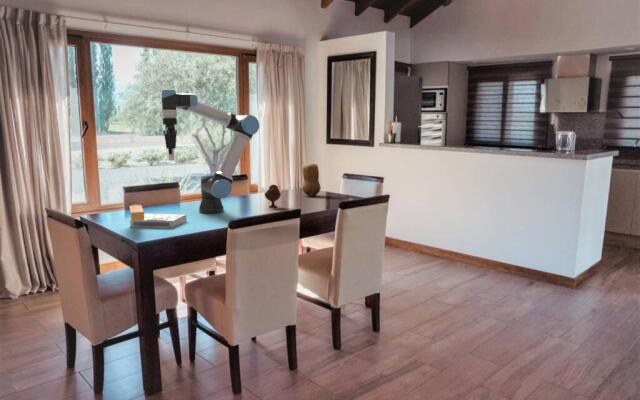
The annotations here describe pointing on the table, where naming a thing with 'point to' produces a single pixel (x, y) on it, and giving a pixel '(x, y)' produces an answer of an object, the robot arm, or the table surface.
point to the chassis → (159, 221)
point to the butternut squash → (311, 179)
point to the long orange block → (136, 212)
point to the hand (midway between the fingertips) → (171, 159)
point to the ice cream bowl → (273, 195)
